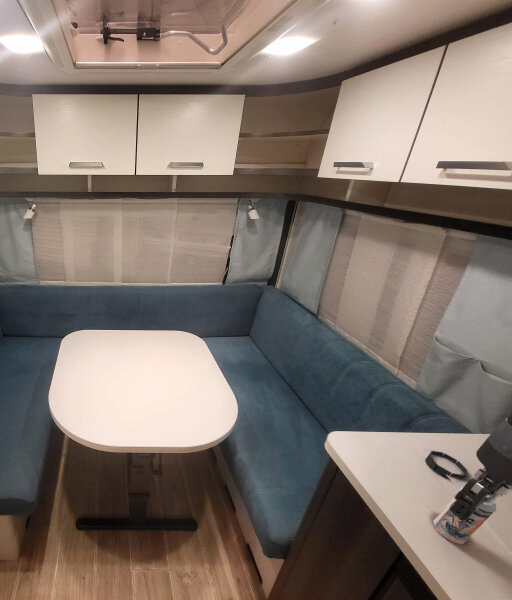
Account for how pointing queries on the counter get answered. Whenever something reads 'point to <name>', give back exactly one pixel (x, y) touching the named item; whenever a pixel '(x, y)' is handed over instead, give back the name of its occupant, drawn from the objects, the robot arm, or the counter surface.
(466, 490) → the robot arm
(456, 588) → the counter surface
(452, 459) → the black ring
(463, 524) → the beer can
